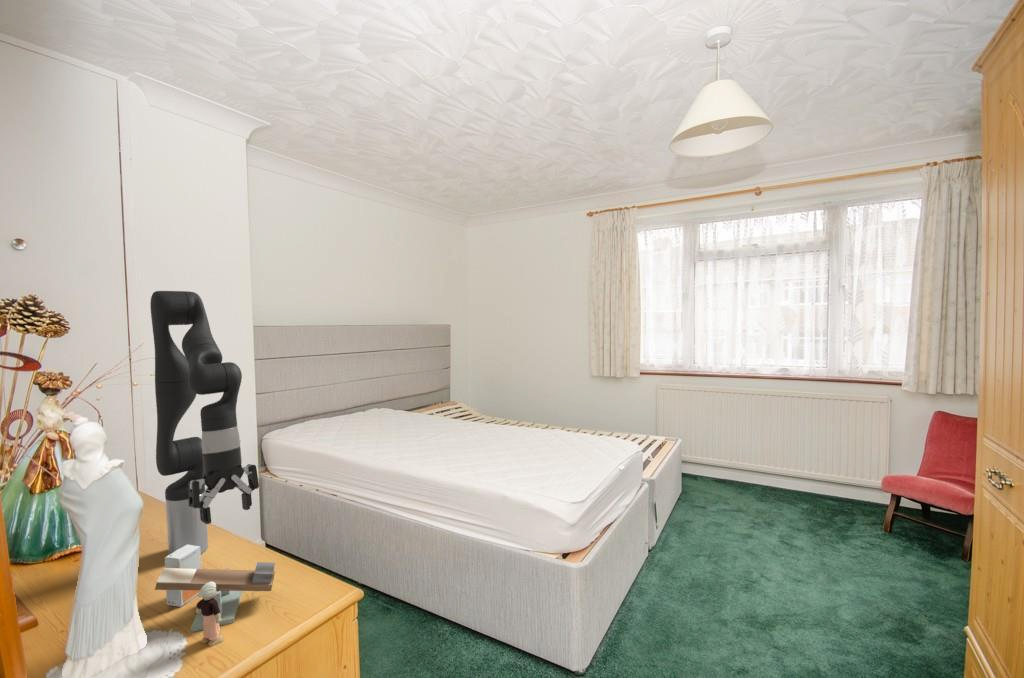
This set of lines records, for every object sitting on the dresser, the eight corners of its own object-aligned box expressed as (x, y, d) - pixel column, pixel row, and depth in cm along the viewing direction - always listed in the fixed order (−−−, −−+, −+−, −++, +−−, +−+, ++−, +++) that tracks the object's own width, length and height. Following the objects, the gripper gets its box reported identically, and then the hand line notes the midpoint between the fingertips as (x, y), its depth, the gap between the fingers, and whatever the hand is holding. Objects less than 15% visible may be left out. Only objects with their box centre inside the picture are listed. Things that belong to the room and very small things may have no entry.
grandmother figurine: (233, 635, 97) (230, 580, 96) (218, 649, 93) (215, 591, 92) (204, 629, 99) (201, 575, 98) (188, 642, 95) (185, 585, 94)
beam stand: (205, 598, 109) (203, 571, 108) (242, 590, 112) (241, 564, 111) (191, 632, 98) (189, 601, 97) (233, 622, 101) (232, 593, 100)
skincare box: (181, 607, 106) (178, 559, 105) (166, 605, 107) (163, 557, 106) (203, 591, 112) (201, 545, 111) (189, 589, 112) (186, 543, 112)
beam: (162, 578, 103) (168, 556, 103) (272, 580, 112) (277, 560, 112) (150, 598, 96) (157, 574, 97) (268, 598, 106) (274, 576, 106)
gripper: (244, 439, 113) (250, 503, 113) (179, 454, 101) (185, 525, 101) (260, 441, 109) (266, 507, 109) (194, 456, 97) (200, 531, 97)
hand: (227, 516), depth 105 cm, fingers open, 8 cm apart
